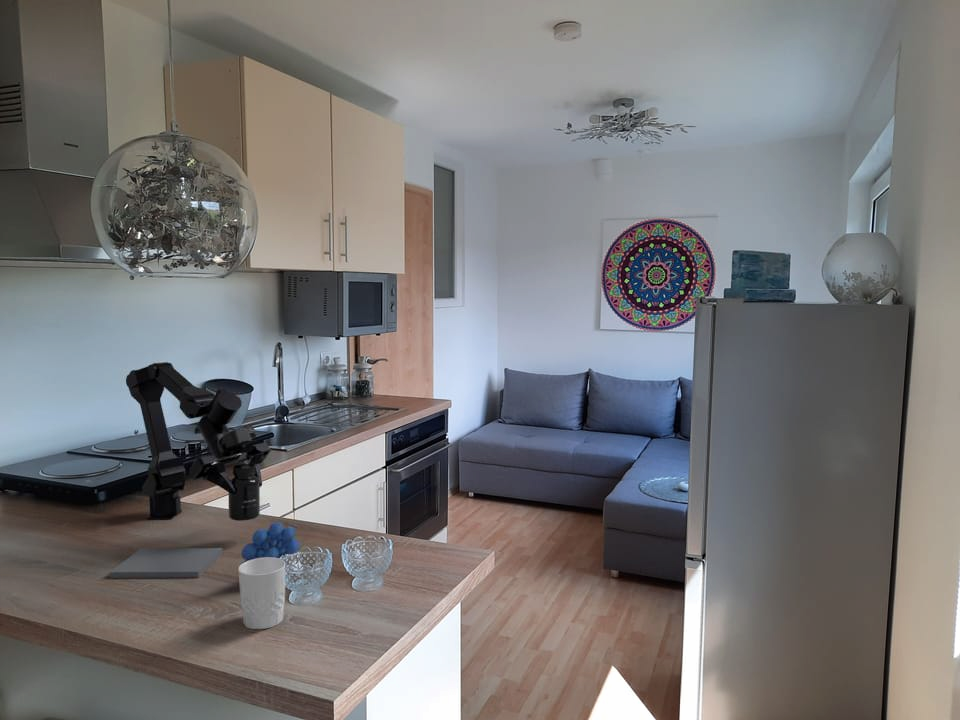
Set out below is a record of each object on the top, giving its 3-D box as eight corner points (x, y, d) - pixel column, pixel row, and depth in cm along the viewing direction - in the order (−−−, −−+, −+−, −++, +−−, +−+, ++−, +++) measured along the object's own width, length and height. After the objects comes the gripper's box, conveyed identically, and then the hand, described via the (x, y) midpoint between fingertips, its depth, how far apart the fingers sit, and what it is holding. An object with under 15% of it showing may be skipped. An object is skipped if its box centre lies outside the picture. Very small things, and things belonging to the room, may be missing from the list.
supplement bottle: (250, 522, 150) (248, 470, 149) (222, 520, 151) (221, 468, 150) (265, 513, 156) (264, 463, 155) (239, 510, 158) (238, 461, 157)
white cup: (293, 610, 120) (291, 557, 120) (278, 632, 113) (276, 575, 112) (250, 609, 121) (248, 556, 120) (232, 631, 113) (230, 574, 112)
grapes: (294, 568, 139) (292, 512, 138) (303, 579, 134) (302, 522, 133) (236, 580, 133) (234, 522, 132) (243, 593, 128) (241, 532, 127)
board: (109, 577, 135) (109, 572, 135) (141, 553, 148) (141, 548, 147) (198, 577, 135) (198, 571, 135) (222, 553, 148) (222, 548, 148)
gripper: (194, 421, 146) (226, 478, 141) (265, 410, 162) (296, 461, 156) (176, 451, 151) (205, 507, 146) (246, 437, 167) (275, 488, 162)
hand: (247, 489), depth 152 cm, fingers closed on supplement bottle, 7 cm apart
